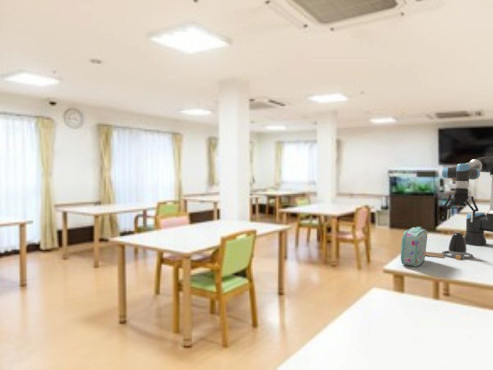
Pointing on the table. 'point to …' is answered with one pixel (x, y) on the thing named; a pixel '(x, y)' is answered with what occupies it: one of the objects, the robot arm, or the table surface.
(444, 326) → the table surface
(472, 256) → the collar
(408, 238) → the lunch box
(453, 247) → the black rounded piece
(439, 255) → the coaster
